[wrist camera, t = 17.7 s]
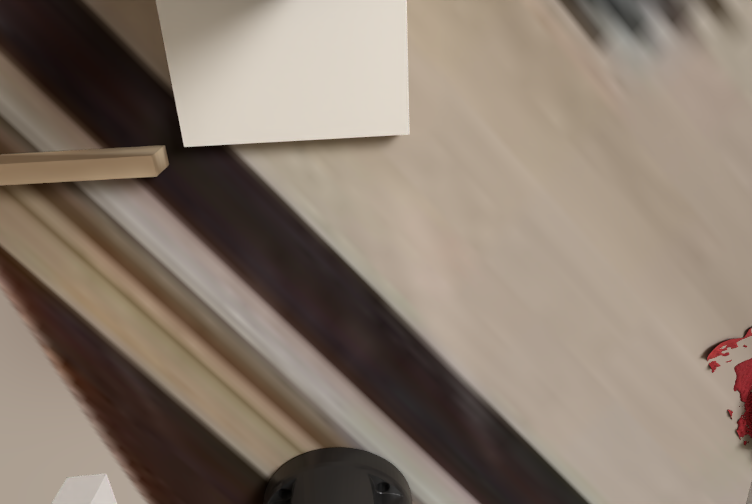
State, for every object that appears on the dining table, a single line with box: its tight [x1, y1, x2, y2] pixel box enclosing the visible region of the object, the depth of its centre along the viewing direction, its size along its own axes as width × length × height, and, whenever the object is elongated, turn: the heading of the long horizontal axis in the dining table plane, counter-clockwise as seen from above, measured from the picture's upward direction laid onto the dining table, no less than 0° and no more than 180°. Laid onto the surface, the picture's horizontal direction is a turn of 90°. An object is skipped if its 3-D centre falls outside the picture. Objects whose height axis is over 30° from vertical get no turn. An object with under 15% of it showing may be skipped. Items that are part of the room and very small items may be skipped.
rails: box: [0, 145, 169, 185], centre depth 37 cm, size 16×12×3 cm
